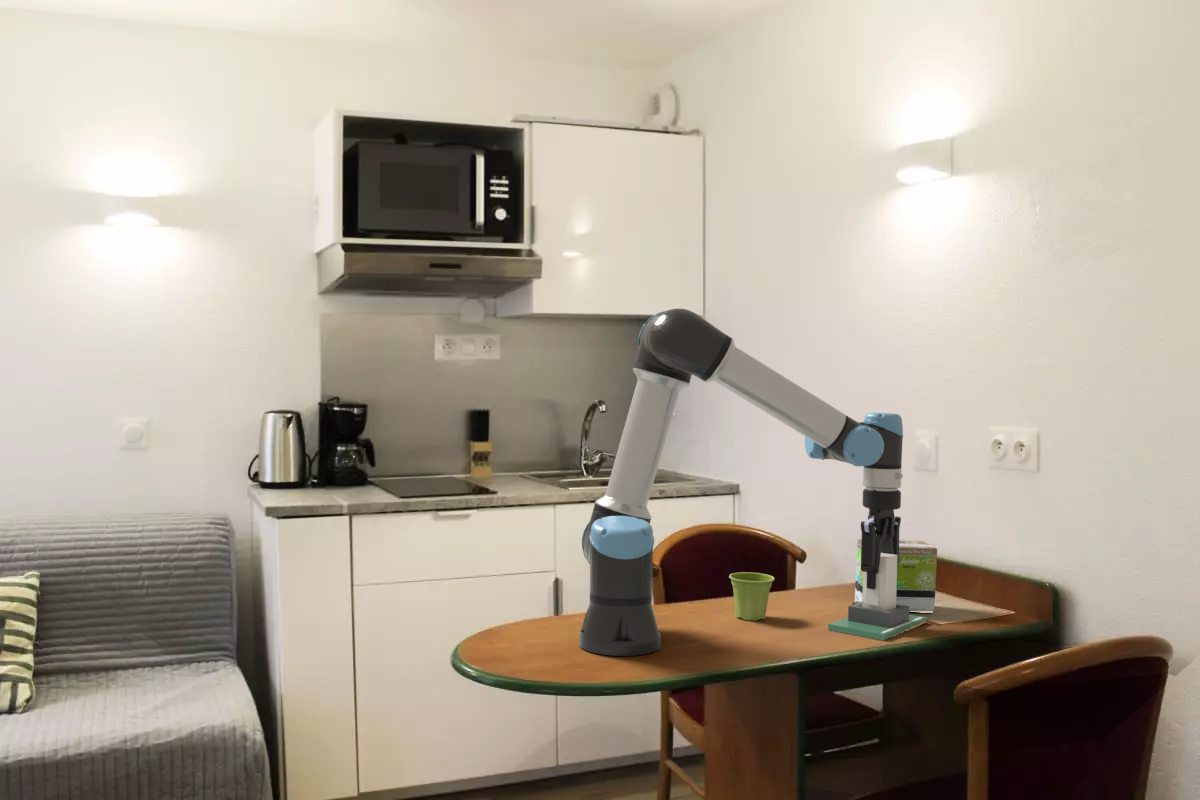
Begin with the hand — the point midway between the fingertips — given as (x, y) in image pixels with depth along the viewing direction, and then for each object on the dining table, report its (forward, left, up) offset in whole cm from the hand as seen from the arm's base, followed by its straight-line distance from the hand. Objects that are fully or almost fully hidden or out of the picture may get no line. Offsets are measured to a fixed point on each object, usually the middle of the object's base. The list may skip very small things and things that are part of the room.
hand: (879, 602), depth 214 cm
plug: (0, 0, -2) cm, 2 cm away
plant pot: (-12, +23, -5) cm, 26 cm away
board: (0, 0, -5) cm, 5 cm away
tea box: (+18, +5, -5) cm, 19 cm away
